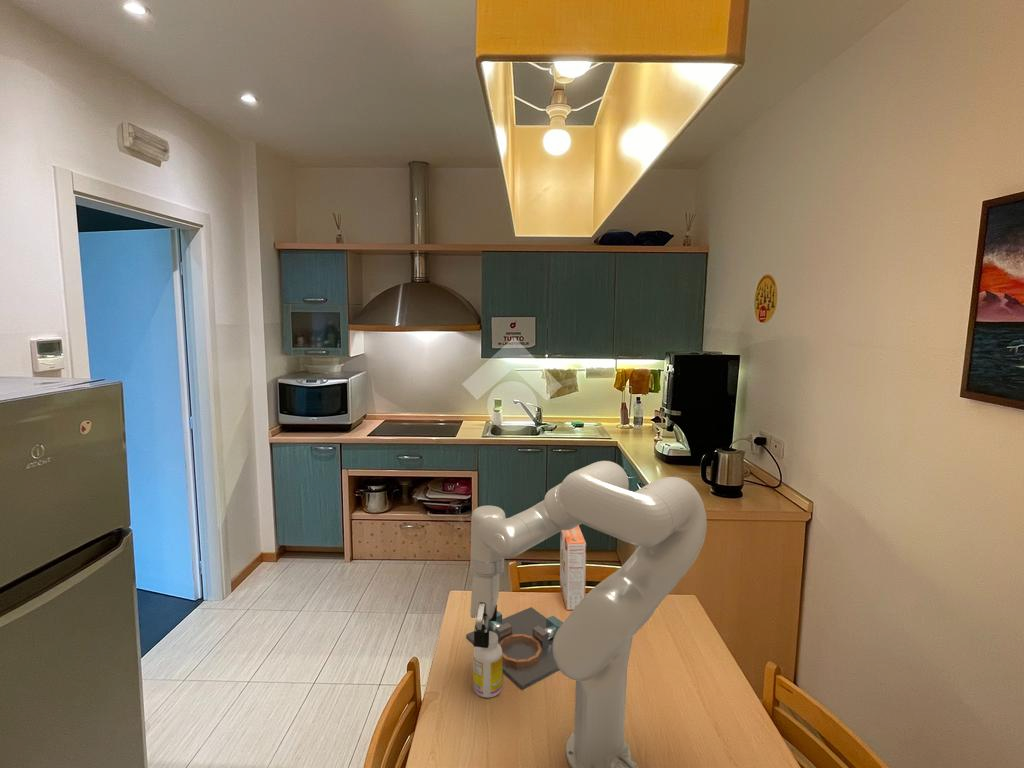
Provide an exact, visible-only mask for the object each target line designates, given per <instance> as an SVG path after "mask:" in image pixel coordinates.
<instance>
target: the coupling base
mask: <svg viewBox="0 0 1024 768" xmlns="http://www.w3.org/2000/svg"><path fill="white" fill-rule="evenodd" d="M485 623H486V620H483V624H484V625H485ZM563 623H564V621H562V620H560V619H559V618H558V617H557V616H555V615H551V616H549V617H546V616H544V615H543V614H541V613H540V612H539V611H538V610H536V609H535V608H533V607H532V606H530V607H528V608H525V609H524V610H521V611H519V612H516V613H513V614H511V615H509V616H507V617H504V618H503V614H502V613H501V612H499V611H498V610H497V619H496V621H489V624H488V630H489V631H492V632H494V633H496V634H497V636H498V644H499V645H500V646H501V648H502V674H503V675H505V676H506V677H507V678H508V679H510V681H512V682H513V684H515V685H516V686H517V687H518V688H519V690H521V691H523V690H525V689H527V688H529V687H530V686H532V685H534V684H536V683H538V682H541V680H543V679H545V678H547V677H549V676H551V675H553V674H555V673H556V672H558V671H560V670H559V668H558V667H557V665H556V663H555V660H554V657H553V651H552V645H553V639H554V636H555V634H556V632H557V630H558V629H559V628H560V626H561V625H562V624H563ZM465 637H466V639H467V640H468V641H469V642H470V643H471V644H472V645H473V646H474V630H472V631H471V632H468V633H466V635H465Z"/></svg>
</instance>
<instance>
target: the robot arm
mask: <svg viewBox="0 0 1024 768" xmlns="http://www.w3.org/2000/svg"><path fill="white" fill-rule="evenodd" d="M629 486H630V484H629V477H628V474H627V472H626V471H625V469H624V468H623V467H622V466H621V465H619V464H618V463H616V462H613V461H610V460H600V461H596V462H593V463H590V464H588V465H586V466H584V467H581V468H579V469H577V470H574V471H572V472H571V473H569V474H567V476H565V478H564V479H563V481H562V482H561V483H558V484H557V485H555V486H554V487H552V488H550V489H549V490H547V492H546V494H545V496H544V499H543V500H542V501H540V502H538V503H536V504H535V505H532V506H531V507H529V508H528V509H525V510H523V511H521V512H519V513H518V512H517V514H514V515H512V516H510V517H506V513H505V510H504V509H502V508H501V507H499V506H495V505H481V506H478V507H476V508H475V509H473V511H472V513H471V518H470V519H471V520H470V521H471V522H470V523H471V525H470V526H471V527H470V563H469V564H470V565H469V566H470V568H469V569H470V571H471V572H472V573H473V576H472V585H471V597H470V598H471V599H470V618H471V619H475V623H474V629H473V631H474V645H473V646H474V648H475V647H482V648H488V647H489V630H488V624H489V621H496V619H497V611H498V601H499V600H498V599H499V595H500V594H499V593H500V575H501V574H503V572H504V571H505V559H513V558H515V557H517V556H519V555H521V554H523V553H525V552H526V551H528V550H530V549H531V548H533V547H534V546H536V545H538V544H540V543H541V542H544V541H546V540H547V539H549V538H551V537H553V536H554V535H556V534H558V533H559V532H560V531H562V530H571V529H573V528H575V527H577V526H578V525H579V526H581V525H583V526H586V527H589V528H591V529H594V530H596V531H597V532H601V533H603V534H606V535H608V536H611V537H613V538H616V539H618V540H620V541H623V542H625V543H628V544H630V545H633V546H637V547H636V548H635V550H634V552H633V553H632V554H631V556H629V558H628V559H627V560H626V561H625V562H624V563H623V565H621V566H620V568H618V569H617V570H615V571H614V572H613V573H611V574H610V575H608V576H607V577H606V578H604V579H603V580H602V581H601V582H599V583H597V585H595V586H594V587H592V588H591V590H589V591H588V593H587V594H585V597H584V598H583V599H582V600H581V601H580V603H579V604H578V605H577V606H576V608H575V609H574V610H571V612H570V614H569V615H568V616H567V617H566V618H565V620H564V621H563V624H562V625H561V626H560V628H559V629H558V630H557V632H556V634H555V636H554V639H553V645H552V651H553V657H554V660H555V663H556V665H557V667H558V668H559V671H560V672H561V673H562V674H563V675H564V676H566V677H567V678H569V679H571V680H574V681H575V695H574V697H575V699H574V729H573V732H572V733H571V734H570V735H569V737H568V738H567V741H566V744H565V756H566V760H567V763H568V764H569V766H570V768H638V764H637V763H636V762H635V761H634V760H633V759H632V752H631V749H630V747H629V744H628V742H627V741H626V740H625V722H626V721H625V720H626V719H625V718H626V700H627V699H626V698H627V680H628V666H629V658H630V653H631V650H632V649H631V648H632V642H633V637H634V636H635V635H636V634H637V633H638V632H639V630H641V628H642V627H644V626H645V624H646V623H647V622H648V621H649V620H650V619H651V617H652V615H653V614H654V613H655V611H656V610H657V608H658V607H659V606H660V604H661V603H662V602H663V600H664V599H665V598H666V597H667V596H668V595H669V594H670V592H672V591H673V590H674V589H675V587H676V586H677V584H678V583H679V582H680V581H681V579H682V578H684V576H685V575H686V574H687V573H688V572H689V570H690V569H691V567H692V566H693V564H694V563H695V561H696V560H697V558H698V556H699V555H700V553H701V550H702V547H703V545H704V542H705V539H706V534H707V527H708V526H707V524H708V522H707V521H708V520H707V512H706V508H705V504H704V502H703V500H702V497H701V496H700V494H699V492H698V490H697V489H696V488H695V487H694V485H693V484H692V483H691V482H689V481H688V480H685V479H684V478H681V477H677V476H667V477H661V478H658V479H656V480H653V481H651V482H649V483H648V484H646V485H644V486H642V487H641V488H639V489H637V490H636V491H633V490H629ZM484 620H486V623H485V625H484Z"/></svg>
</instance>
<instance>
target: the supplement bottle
mask: <svg viewBox="0 0 1024 768" xmlns="http://www.w3.org/2000/svg"><path fill="white" fill-rule="evenodd" d="M472 652H473V653H472V657H473V658H472V661H473V662H472V665H473V671H472V672H473V673H472V674H473V675H472V676H473V678H472V679H473V690H474V692H475V693H476V695H478V696H479V697H482V698H487V699H488V698H493V697H497V695H499V694H500V693H501V692H502V689H503V675H504V674H503V672H502V648H501V646H500V645H499V644H498V636H497V634H496V633H494V632H492V631H489V647H488V648H482V647H475V646H474V648H473V651H472Z"/></svg>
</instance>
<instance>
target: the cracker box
mask: <svg viewBox="0 0 1024 768" xmlns="http://www.w3.org/2000/svg"><path fill="white" fill-rule="evenodd" d="M559 538H560V543H559V545H560V549H559V553H560V554H559V557H560V560H559V565H560V566H559V586H560V590H561V595H562V598H563V603H564V606H565V610H566V611H573V610H574V609H575V608H576V606H577V605H578V604H579V603H580V601H581V600H582V599H583V598H584V597H585V596H586V575H587V574H586V570H587V569H586V566H587V563H586V562H587V543H586V542H587V541H586V540H585V538H584V534H583V533H582V529H581V527H580V525H578V526H577V527H575V528H573V529H571V530H562V531H560V537H559Z"/></svg>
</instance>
